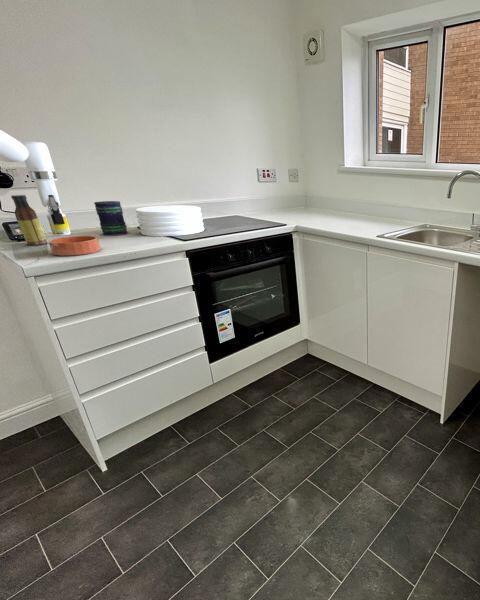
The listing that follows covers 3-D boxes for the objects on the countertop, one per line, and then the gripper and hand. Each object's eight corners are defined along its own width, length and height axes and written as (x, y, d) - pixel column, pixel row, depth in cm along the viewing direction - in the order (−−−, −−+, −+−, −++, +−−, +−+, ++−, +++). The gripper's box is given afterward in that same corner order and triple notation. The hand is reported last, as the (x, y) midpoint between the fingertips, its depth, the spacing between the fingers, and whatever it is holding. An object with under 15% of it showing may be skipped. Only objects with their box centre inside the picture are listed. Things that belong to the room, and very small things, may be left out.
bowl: (55, 258, 128) (50, 245, 126) (51, 251, 137) (46, 238, 135) (104, 252, 138) (100, 240, 136) (97, 246, 146) (94, 234, 145)
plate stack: (131, 230, 178) (126, 207, 174) (188, 224, 200) (184, 204, 196) (155, 238, 164) (150, 213, 159) (214, 231, 185) (211, 209, 181)
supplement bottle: (75, 233, 147) (67, 208, 143) (61, 236, 141) (53, 210, 138) (62, 233, 147) (54, 208, 143) (49, 235, 142) (40, 209, 138)
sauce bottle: (44, 241, 151) (28, 194, 143) (50, 243, 148) (33, 195, 140) (23, 244, 145) (5, 194, 138) (29, 246, 142) (10, 196, 135)
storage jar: (98, 234, 169) (89, 202, 163) (120, 231, 177) (112, 200, 171) (110, 236, 165) (101, 203, 159) (132, 233, 173) (124, 202, 168)
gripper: (28, 175, 139) (43, 221, 145) (31, 177, 128) (48, 227, 134) (54, 175, 144) (68, 219, 150) (59, 177, 133) (73, 225, 140)
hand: (58, 222), depth 142 cm, fingers closed on supplement bottle, 5 cm apart
